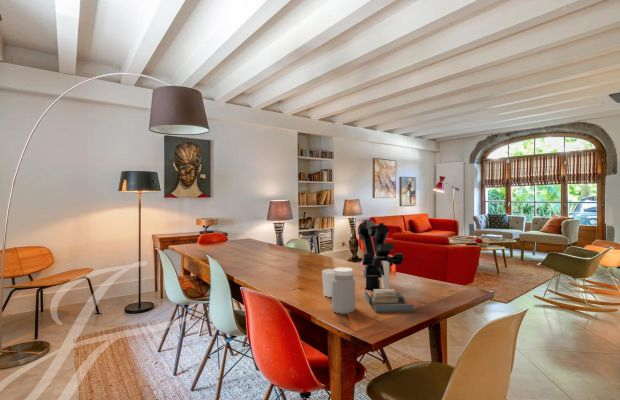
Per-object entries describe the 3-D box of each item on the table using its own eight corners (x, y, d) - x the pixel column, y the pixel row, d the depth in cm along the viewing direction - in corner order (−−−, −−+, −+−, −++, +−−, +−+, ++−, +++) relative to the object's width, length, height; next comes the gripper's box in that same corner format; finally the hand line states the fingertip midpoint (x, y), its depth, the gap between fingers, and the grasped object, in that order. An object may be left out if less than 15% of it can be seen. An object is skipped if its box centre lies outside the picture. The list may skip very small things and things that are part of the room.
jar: (358, 313, 137) (358, 271, 137) (336, 316, 134) (336, 272, 134) (349, 306, 146) (349, 266, 146) (328, 308, 144) (328, 267, 143)
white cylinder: (344, 293, 165) (344, 269, 165) (337, 299, 156) (337, 274, 156) (326, 291, 169) (326, 268, 169) (318, 296, 160) (318, 272, 160)
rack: (364, 299, 156) (364, 291, 156) (398, 298, 157) (398, 290, 157) (375, 315, 136) (375, 305, 136) (413, 314, 137) (413, 304, 137)
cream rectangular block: (381, 286, 152) (381, 260, 152) (386, 286, 152) (386, 260, 152) (384, 289, 147) (384, 262, 147) (389, 289, 147) (389, 262, 147)
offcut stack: (370, 298, 155) (370, 289, 154) (393, 297, 155) (393, 288, 155) (374, 302, 148) (374, 293, 148) (398, 302, 148) (398, 293, 148)
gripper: (363, 236, 152) (368, 265, 142) (402, 236, 154) (411, 265, 143) (359, 250, 161) (364, 278, 150) (397, 250, 162) (404, 278, 151)
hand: (386, 275), depth 148 cm, fingers closed on cream rectangular block, 2 cm apart
